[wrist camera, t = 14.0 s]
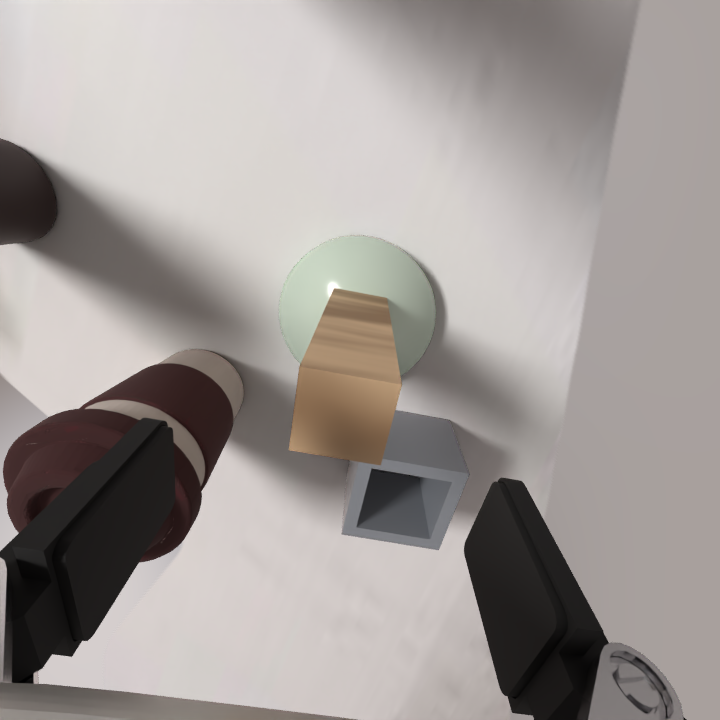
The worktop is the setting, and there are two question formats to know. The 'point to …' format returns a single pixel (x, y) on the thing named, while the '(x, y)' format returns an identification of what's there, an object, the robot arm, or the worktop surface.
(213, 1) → the worktop surface
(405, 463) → the gray open square box
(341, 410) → the oak peg
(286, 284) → the mint green dome
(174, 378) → the coffee cup
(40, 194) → the bottle
